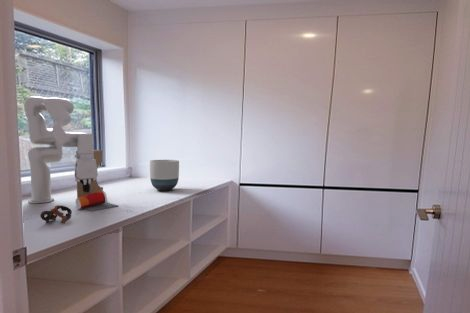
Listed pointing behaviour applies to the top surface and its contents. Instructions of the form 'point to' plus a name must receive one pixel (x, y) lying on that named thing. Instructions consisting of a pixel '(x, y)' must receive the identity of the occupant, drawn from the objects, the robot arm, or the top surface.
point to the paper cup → (91, 199)
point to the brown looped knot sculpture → (56, 214)
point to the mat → (100, 206)
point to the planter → (164, 174)
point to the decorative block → (94, 185)
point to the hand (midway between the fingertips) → (86, 191)
